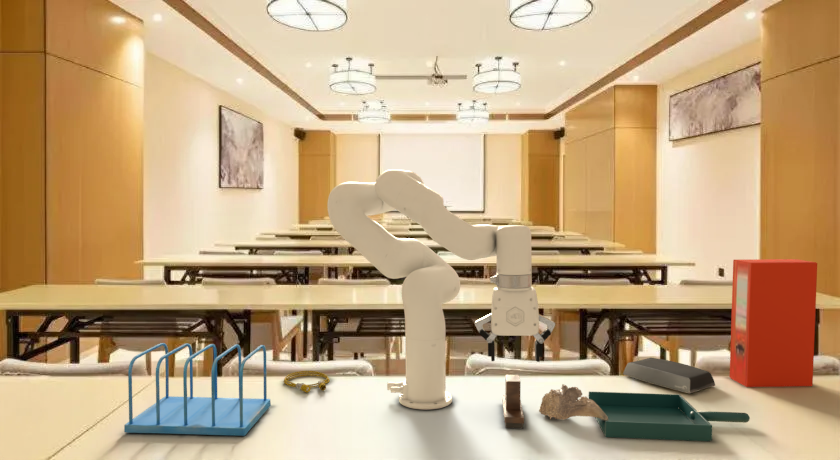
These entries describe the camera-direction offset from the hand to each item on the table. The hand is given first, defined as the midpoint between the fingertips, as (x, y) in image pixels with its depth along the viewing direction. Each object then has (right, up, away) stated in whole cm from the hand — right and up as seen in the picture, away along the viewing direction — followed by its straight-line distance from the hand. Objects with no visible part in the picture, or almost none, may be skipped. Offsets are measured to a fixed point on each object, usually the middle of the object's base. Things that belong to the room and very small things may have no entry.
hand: (515, 359), depth 128 cm
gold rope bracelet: (-50, -12, +24) cm, 57 cm away
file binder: (+71, -12, +26) cm, 77 cm away
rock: (+12, -13, -1) cm, 18 cm away
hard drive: (+44, -12, +26) cm, 53 cm away
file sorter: (-68, -13, -1) cm, 69 cm away
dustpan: (+33, -13, -3) cm, 36 cm away
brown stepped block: (0, -13, +1) cm, 13 cm away
